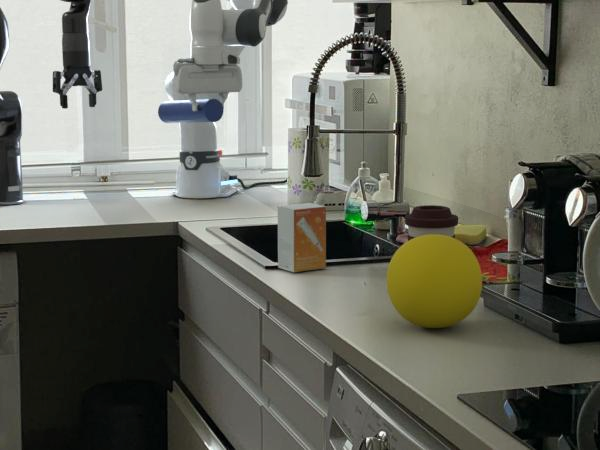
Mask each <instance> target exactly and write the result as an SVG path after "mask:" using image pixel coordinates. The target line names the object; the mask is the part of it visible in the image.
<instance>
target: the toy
mask: <svg viewBox="0 0 600 450" xmlns="http://www.w3.org/2000/svg"><path fill="white" fill-rule="evenodd" d="M482 275H483V274H482V269H481V265H480V262H479V260H478V258H477V256H476V255H475V253H474V252H473V251H472V249H470V248H469V246H468V245H466V244H465V243H464V242H463V241H461V240H460V239H457V238H456V237H455V238H452V237H449V236H445V235H438V234H430V235H423V236H419V237H416V238H413V239H411V240H409V241H408V240H407V241H406V242H404V243H403V244H402V245H400V246H399V247H398V248H397V249H396V251H395V252H394V253H393V255H392V257H391V259H390V262H389V264H388V268H387V272H386V289H387V295H388V297H389V299H390V302H391V305H392V306H393V308H394V309H395V311H396V312H397V313H398V314H399V315H400V316H401V317H402V318H403V319H404V320H406V321H407V322H409V323H411V324H413V325H415V326H419V327H423V328H427V329H443V328H449V327H451V326H454V325H456V324H458V323H460V322H462V321H463V320H465V319H466V318H467V317H469V316H470V315H471V314H472V312H473V311H474V310H475V308H476V307H477V305H478V303H479V300H480V299H481V294H482V290H483V276H482Z"/></svg>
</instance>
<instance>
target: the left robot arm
mask: <svg viewBox="0 0 600 450" xmlns="http://www.w3.org/2000/svg"><path fill="white" fill-rule="evenodd" d="M60 2H64V3H70V6H69V9H68V10H67V11H65V12H63V14H62V15H61V32H62V35H61V36H62V37H61V52H62V67H63V70H62V71H59V70H54V71H52V92H53V93H55V94H58V95H59V105H60V107H61V108H62V109H63V110H64V109H65V110H66V109H68V108H69V103H68V101H69V100H68V92H69V91H70V89H71V88H72V87H84V88H85V89H86V91H88V106H89V108H96V105H97V94H98V93H99V92H102V91H103V82H102V71H101V70H100V69H93V70H91V50H90V49H91V46H90V37H89V23H88V22H89V21H88V17H89V13H90V8H91V3H92V0H60ZM9 50H10V31H9V23H8V20H7V17H6V15H5V13H4V11H3V10H2V8H1V7H0V70H2V66H3V64H4V62H5V60H6V57H7V55H8V52H9ZM91 77H92V78H93V82H92V81H91ZM62 78H64V79H65V80H63V82H61V81H62V80H61V79H62ZM22 135H23V105H22V101H21V99H20V97H19V95H18V93H16V92H15V91H13V90H0V206H11V205H21V204H23V203H24V202H25V201H24V187H23V170H22V169H23V168H22V167H23V166H22V151H21V139H22Z"/></svg>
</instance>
